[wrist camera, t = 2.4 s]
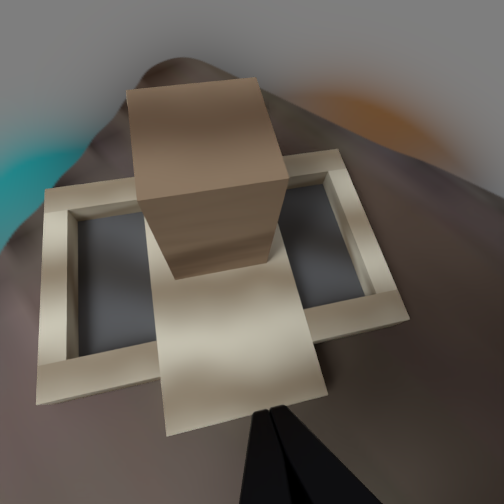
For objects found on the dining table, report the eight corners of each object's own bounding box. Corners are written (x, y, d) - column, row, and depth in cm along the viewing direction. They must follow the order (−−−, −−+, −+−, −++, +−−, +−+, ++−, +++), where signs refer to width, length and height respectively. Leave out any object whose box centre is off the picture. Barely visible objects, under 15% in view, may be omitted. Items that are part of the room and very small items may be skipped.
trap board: (413, 370, 21) (452, 365, 17) (53, 462, 17) (7, 480, 14) (308, 110, 30) (319, 71, 26) (60, 140, 27) (33, 99, 23)
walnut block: (266, 262, 21) (289, 178, 13) (175, 280, 20) (136, 200, 12) (247, 188, 23) (256, 77, 15) (164, 201, 22) (126, 90, 14)
